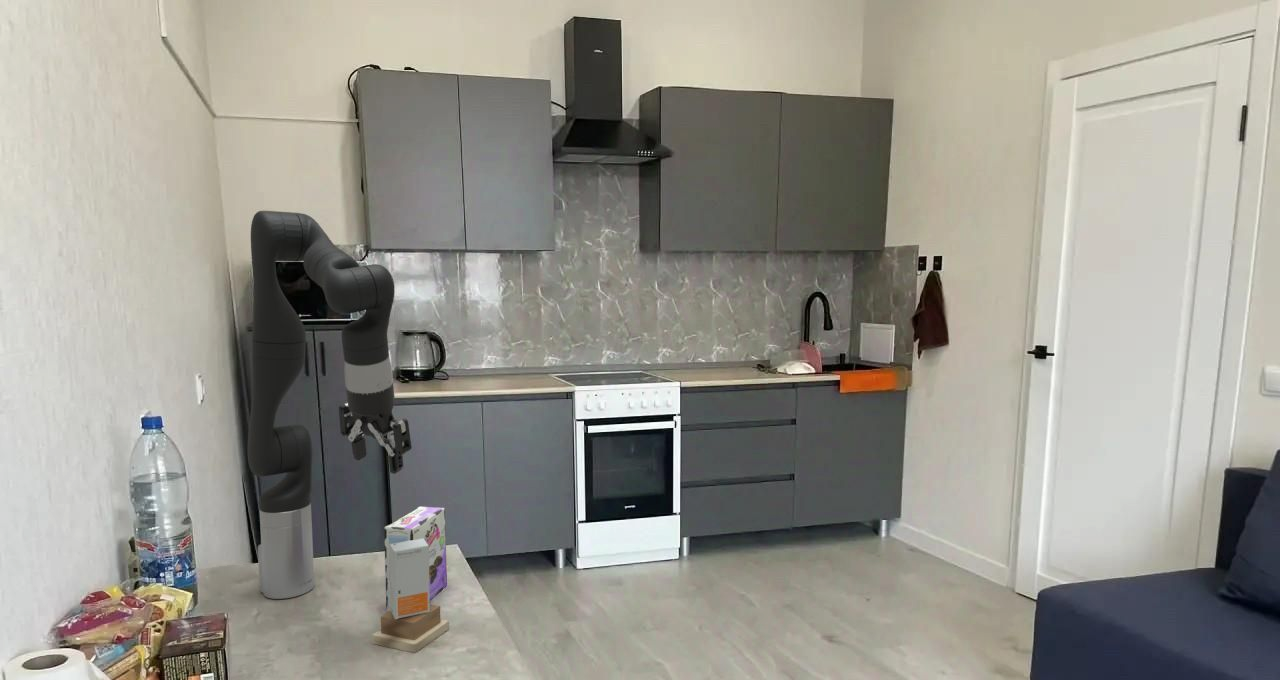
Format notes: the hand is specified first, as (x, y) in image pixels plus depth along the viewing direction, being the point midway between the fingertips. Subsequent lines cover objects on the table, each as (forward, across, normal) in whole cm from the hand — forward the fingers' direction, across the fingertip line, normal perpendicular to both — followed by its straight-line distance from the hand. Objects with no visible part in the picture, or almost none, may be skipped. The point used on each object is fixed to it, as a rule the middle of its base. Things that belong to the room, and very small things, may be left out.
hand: (378, 464), depth 128 cm
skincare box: (+22, -12, +7) cm, 26 cm away
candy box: (+31, -3, -3) cm, 32 cm away
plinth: (+26, -13, +8) cm, 30 cm away
